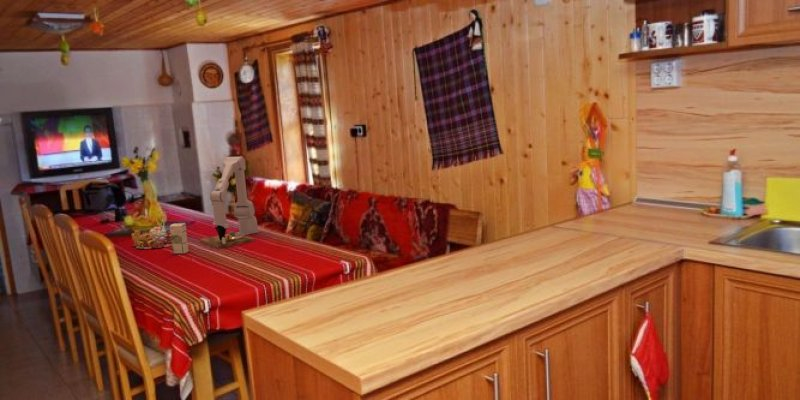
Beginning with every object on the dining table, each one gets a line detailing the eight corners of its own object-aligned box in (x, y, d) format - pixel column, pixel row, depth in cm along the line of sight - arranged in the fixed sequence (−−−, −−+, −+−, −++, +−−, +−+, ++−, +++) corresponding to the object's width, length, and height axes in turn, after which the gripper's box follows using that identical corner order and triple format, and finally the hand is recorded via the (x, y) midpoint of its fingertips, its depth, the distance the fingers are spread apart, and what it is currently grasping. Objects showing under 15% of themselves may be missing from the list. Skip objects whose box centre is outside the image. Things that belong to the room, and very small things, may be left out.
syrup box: (188, 251, 310) (185, 222, 308) (183, 254, 305) (180, 225, 302) (178, 251, 311) (174, 222, 309) (172, 254, 305) (169, 225, 303)
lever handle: (225, 236, 332) (224, 230, 332) (245, 235, 332) (244, 229, 331) (213, 244, 315) (212, 237, 315) (234, 243, 314) (233, 237, 314)
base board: (235, 235, 342) (235, 232, 341) (254, 241, 325) (253, 238, 325) (200, 241, 329) (199, 239, 329) (217, 248, 312) (217, 245, 312)
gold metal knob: (231, 240, 321) (230, 234, 321) (232, 241, 320) (232, 235, 319) (228, 241, 320) (227, 235, 320) (229, 242, 319) (229, 235, 318)
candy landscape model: (149, 252, 313) (147, 234, 311) (124, 247, 327) (122, 230, 325) (192, 241, 332) (190, 224, 331) (167, 237, 347) (165, 221, 345)
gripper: (206, 213, 319) (209, 239, 322) (218, 217, 308) (220, 243, 310) (219, 211, 323) (222, 236, 326) (231, 214, 312) (234, 241, 315)
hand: (222, 239), depth 318 cm, fingers closed, pressing on lever handle
